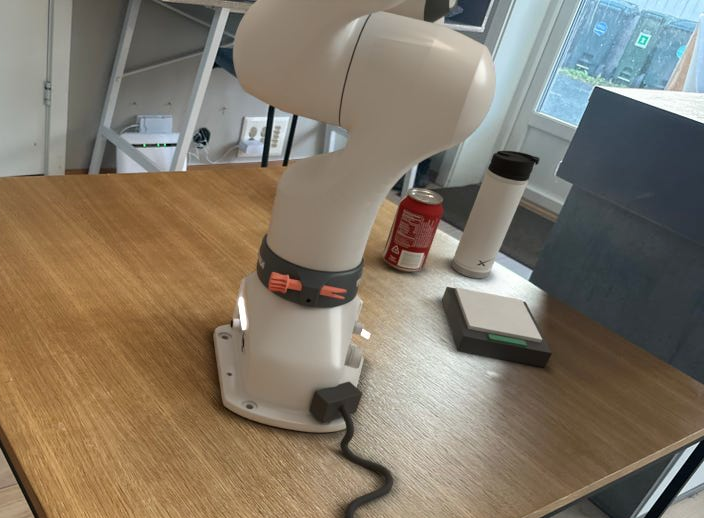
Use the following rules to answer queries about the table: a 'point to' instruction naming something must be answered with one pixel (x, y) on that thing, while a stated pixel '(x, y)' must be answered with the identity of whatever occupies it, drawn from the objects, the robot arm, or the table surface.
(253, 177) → the table surface
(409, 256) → the soda can
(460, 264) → the travel mug
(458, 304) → the scale
